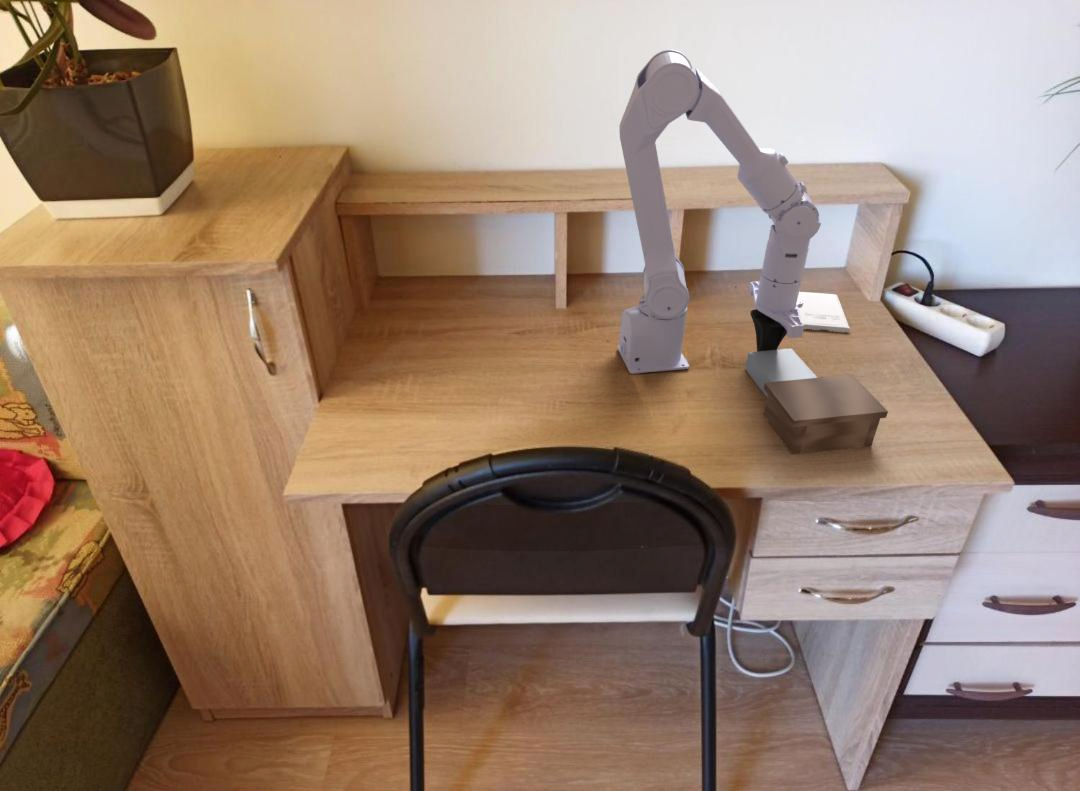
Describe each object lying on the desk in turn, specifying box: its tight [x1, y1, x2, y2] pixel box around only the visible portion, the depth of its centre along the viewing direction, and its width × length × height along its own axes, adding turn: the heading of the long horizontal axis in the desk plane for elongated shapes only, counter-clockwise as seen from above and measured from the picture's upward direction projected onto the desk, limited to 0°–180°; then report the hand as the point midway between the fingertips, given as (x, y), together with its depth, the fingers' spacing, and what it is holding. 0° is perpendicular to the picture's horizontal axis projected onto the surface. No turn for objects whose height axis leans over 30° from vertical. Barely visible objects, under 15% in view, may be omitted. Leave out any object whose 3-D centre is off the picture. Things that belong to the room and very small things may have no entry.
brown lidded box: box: [763, 374, 889, 455], centre depth 102 cm, size 13×9×6 cm
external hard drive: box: [798, 291, 851, 333], centre depth 132 cm, size 2×8×12 cm
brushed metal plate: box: [745, 348, 818, 398], centre depth 111 cm, size 7×14×3 cm, turn 10°
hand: (765, 355), depth 117 cm, fingers closed
